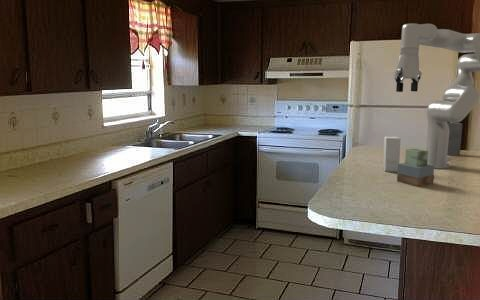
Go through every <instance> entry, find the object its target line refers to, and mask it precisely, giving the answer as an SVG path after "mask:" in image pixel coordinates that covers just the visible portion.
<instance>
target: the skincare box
mask: <svg viewBox="0 0 480 300" xmlns="http://www.w3.org/2000/svg"><path fill="white" fill-rule="evenodd" d="M400 152H401V138H400V137H399V136H385V135H384V137H383V162H382V165H383V166H382V169H383V171H384V172H387V173H397V170H398V164H400V159H401V158H400V157H401V156H400V155H401V153H400Z"/></svg>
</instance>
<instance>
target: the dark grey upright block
mask: <svg viewBox="0 0 480 300" xmlns="http://www.w3.org/2000/svg"><path fill="white" fill-rule="evenodd" d="M447 124H448V127H449V141H448V152H447V156H449V157H451V156H454V157H457V156H460V155H461V144H462V135H463V133H462V132H463V123H461V122H457V123H453V122H447Z"/></svg>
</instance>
